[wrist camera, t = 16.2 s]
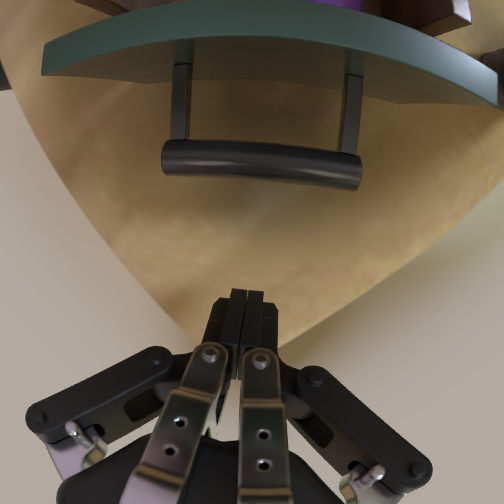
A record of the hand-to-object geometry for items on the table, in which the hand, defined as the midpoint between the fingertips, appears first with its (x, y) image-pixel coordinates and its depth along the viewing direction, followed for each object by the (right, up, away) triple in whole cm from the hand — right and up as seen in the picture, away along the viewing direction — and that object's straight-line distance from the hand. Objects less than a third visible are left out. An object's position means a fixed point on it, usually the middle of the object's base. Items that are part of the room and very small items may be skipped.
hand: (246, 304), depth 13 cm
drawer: (+2, +15, -4) cm, 16 cm away
